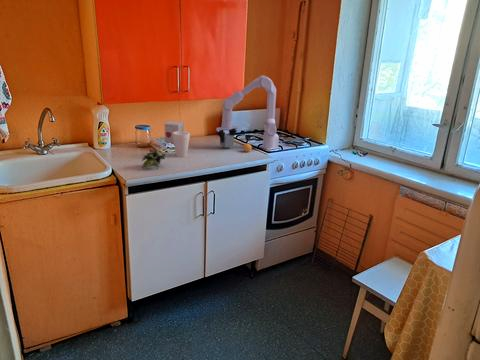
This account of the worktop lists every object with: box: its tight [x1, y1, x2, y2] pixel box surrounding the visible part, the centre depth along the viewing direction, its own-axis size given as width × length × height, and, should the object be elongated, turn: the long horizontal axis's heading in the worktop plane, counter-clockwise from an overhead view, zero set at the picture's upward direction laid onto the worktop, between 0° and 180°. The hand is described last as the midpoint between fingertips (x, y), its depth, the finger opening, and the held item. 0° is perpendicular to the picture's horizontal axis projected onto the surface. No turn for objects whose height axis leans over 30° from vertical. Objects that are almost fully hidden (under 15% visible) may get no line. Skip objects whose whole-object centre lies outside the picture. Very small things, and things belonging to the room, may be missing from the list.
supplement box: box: [164, 120, 185, 144], centre depth 229 cm, size 9×9×15 cm
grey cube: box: [219, 133, 235, 148], centre depth 232 cm, size 6×6×6 cm
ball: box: [242, 143, 253, 152], centre depth 227 cm, size 5×5×5 cm
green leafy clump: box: [141, 148, 166, 170], centre depth 192 cm, size 11×11×12 cm
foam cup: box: [173, 130, 191, 158], centre depth 213 cm, size 10×9×13 cm
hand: (226, 141), depth 233 cm, fingers closed on grey cube, 6 cm apart
